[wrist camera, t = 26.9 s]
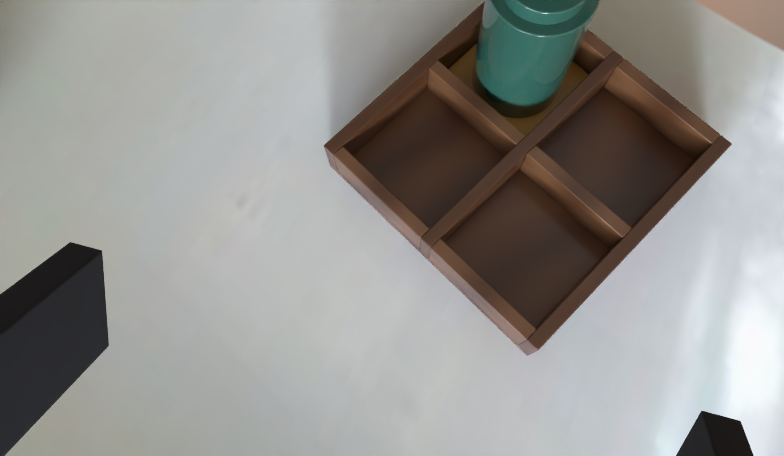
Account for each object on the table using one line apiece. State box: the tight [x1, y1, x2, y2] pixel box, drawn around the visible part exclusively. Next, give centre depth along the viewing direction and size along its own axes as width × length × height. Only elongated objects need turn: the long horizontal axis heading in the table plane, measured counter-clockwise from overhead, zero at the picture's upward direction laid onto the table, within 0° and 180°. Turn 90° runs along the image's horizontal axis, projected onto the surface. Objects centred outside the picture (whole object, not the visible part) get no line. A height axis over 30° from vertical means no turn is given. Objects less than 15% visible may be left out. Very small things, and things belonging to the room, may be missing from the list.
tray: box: [324, 2, 731, 355], centre depth 38 cm, size 17×17×3 cm
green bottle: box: [472, 0, 600, 118], centre depth 35 cm, size 6×6×12 cm
